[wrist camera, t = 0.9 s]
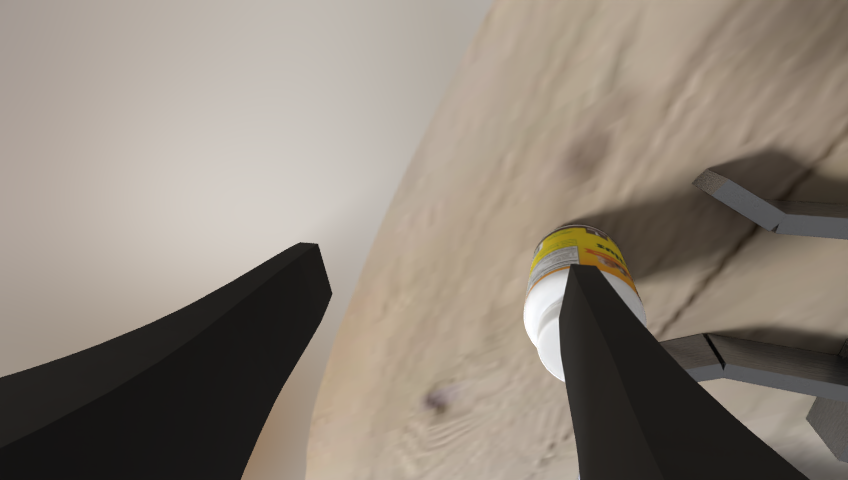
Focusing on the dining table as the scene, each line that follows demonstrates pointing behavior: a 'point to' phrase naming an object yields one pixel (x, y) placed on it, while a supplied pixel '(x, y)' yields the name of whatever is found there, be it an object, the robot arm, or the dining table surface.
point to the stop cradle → (765, 363)
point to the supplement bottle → (552, 276)
